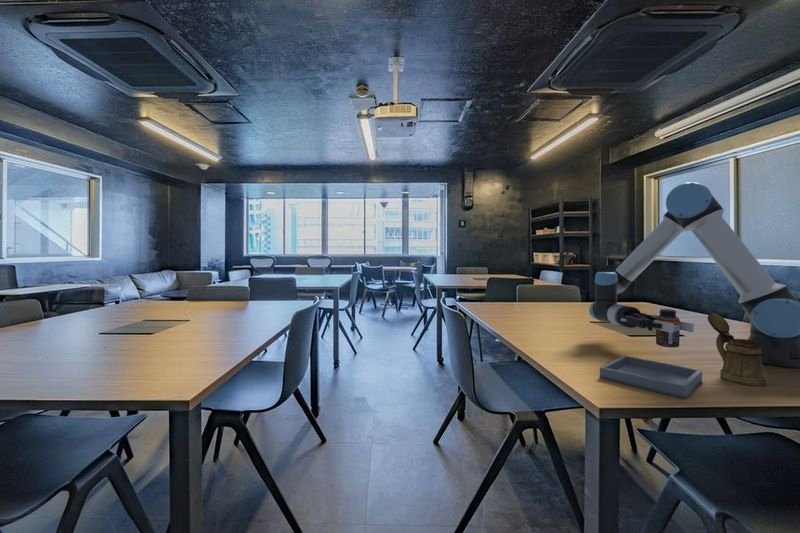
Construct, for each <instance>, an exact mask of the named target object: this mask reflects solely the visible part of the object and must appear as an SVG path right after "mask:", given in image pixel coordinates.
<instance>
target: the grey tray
mask: <svg viewBox="0 0 800 533" xmlns="http://www.w3.org/2000/svg"><path fill="white" fill-rule="evenodd" d="M599 379H601V380H606V381H610V382H615V383H619V384H623V385H626V386H631V387H634V388H638V389H642V390H646V391H650V392H655V393H659V394H662V395H667V396H671V397H674V398H679V399H683V400H686V399H687V398H688V397H689V396H690V394H692V393H693V391H694V390H695V389H697V387H699V385H700V384H701V383H702V382H703V369H702V370H701V369H697V368H691V367H685V366H681V365H675V364H670V363H666V362H660V361H654V360H650V359H644V358H641V357H640V358H638V357H634V356H630V355H622V356H621V357H619V358H617V359H614V360H612V361H610V362H608V363H607V364H604V365H602V366H600V367H599Z"/></svg>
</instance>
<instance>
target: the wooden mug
mask: <svg viewBox="0 0 800 533" xmlns="http://www.w3.org/2000/svg"><path fill="white" fill-rule="evenodd" d="M707 321H708V323H709V325H710V326H711V328H712V329H713V330H714V331H715V332H717V333H718V336H717V337H716V341H715V345H716V349H717V350H718V353H719V355H720V357H721V359H722V361H723V365H722V368H721V369H720V371H719V372H720V375H719V376H720V377H721V379H724V380H725V381H729V382H730V383H731V382H732V383H734V382H735V384H741V385H744V384H745V386H751V385H752V386H754V387H762V386H766V385H767V381H766V377H765V375H764V368H763V363H762V361H761V353H762V351H761V348H760V347H759V342H758V341H754V340H748V339H747V338H746V339H745V338H744V339H743V338H735V337H734V335H732V334H730V325H729V323H728V322H727V320H726V319H725V317H723V316H721V315H720V314H718V313H717V312H714V311H712V310H710V311H709V313H708V315H707ZM725 343H726V344H725ZM724 346H725V347H724Z"/></svg>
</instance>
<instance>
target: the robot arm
mask: <svg viewBox="0 0 800 533" xmlns="http://www.w3.org/2000/svg"><path fill="white" fill-rule="evenodd" d="M665 207H666V210H667V211H666V212H665V213H664V214H663V220H662V221H660V223H659V224H657V226H656V227H655V228H654V229H653V230H652V231H651V232H650V233H649V234H648V235H647V236H646V237H645V238H644V240H643V241H641V243H640V244H638V246H636V248H634V250H633V251H632V252H631V253H630V254H629V255H628V256H627V257H626V258H625V259H624V260H623V261H622V262H621V263H620V264H619V266H617V267H616V268H615V270H614V271H613V272H611V271H601V272H600V271H598V272H596V273H595V277H594V291H595V292H594V294H595V295H594V301H593V302H592V303H591V304H590V305H589V308H588V311H589V314H590V316H591V317H592V319H595V320H598V321H600V322H604V323H607V324H613V325H617V327H625V328H629V329H635V328H637V327H638V328H641V329H646V328H647V331H649V332H650V331H651V332H652V331H653V330H656V329H657V330H661V331H665V332H670V333H674V324H672V323H667V322H662V321H657V320H656V318H657V316H659V315H658V314H648V313H645V312H641V311H640V309H638V308H637V307H634V306H630V305H624V304H618V295H619V294H622V293H624V292H625V291H626V290H627V288H628V286H630V284H631V283H632V282H633V281H634V280H636V278H638V276H639V275H640V274H642V272H643V271H645V269H647V267H648V266H650V264H652V262H654V261H655V259H657V257H659V256H660V255H661V254H662V253H663V252H664V250H666V248H669V246H670V245H671V244H672V243H673V242H674V241H675V240H676V239H677V238H678V237H679V236H681V234H682V233H683V232H688V231H690V232H692V233H693V234H694V237H696V238H697V240H698V241H699V242H700V243H701V245H702V246H703V248H704V249H705V250H706V251H707V253H708V255H709V256H710V257H711V258H712V260H713V261H714V262H715V263H716V265H717V266H718V268H719V269H720V270H721V271H722V273H723V274H724V275H725V276H726V278H727V280H729V282H730V284H731V285H732V287H734V289H735V290H736V291H737V293H739V294H738V295H740V296H739V299H738V301H737V302H738V303H739V304H740V306H741V307H742V309H743V310H744V311H745V313H746V315H747V316H748V317H749V319H750V323H749V324H750V326H749V327H750V330H749V337H748V339H747V340H754V341H758V342H759V347H760V348H761V351H762V353H761V361H762V365H770V366H777V367H783V368H792V369H793V368H794V369H800V292H798V291H791V290H790V288H788V286H787V285H786V284H782V283H779V282H776V281H775V280H774V279H773V278H772V277H771V275H770V274H769V273H768V272H767V271H766V269H765V268H764V267H763V266H762V264H761V263H760V262H759V261H758V259H757V258H756V257H755V256H754V255H753V253H752V252H751V251H750V250H749V248H748V246H746V245H745V243H744V242H743V241H742V240H741V239H740V237H739V236H738V234H737V233H736V232H735V231H734V230H733V229H732V227H731V226H730V224H728V222H727V221H726V220H725V219H724V218H723V214H724V211H725V209H724V208H723V206H721V204H720V203H719V202H718V200H717V199H716V198H715V196H713V194H712V192H711V190H710V188H709V187H707V186H706V185H705V184H702V183H700V182H694V181H693V182H692V181H691V182H684V183H682V184H679V185H677V186H675V187H674V188H672V189H671V190H670V191H669V193H668V194H667V196H666V198H665ZM679 320H680V318H679ZM694 325H695V324H694V322H689V321H685V320H684V321H683V320H680V331H684V332H689V333H694V332H695V331H694V330H695V329H694Z"/></svg>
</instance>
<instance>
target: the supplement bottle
mask: <svg viewBox="0 0 800 533" xmlns="http://www.w3.org/2000/svg"><path fill="white" fill-rule="evenodd" d="M679 319H680V318H679V317H678V316H677V310H675V309H670V308H661V309H659V315H658V316H657V318H656V320H657V321H662V322H667V323H672V324H674V333H670V332H665V331H661V330H657V329H655V344H656V345H657V346H660V347H665V348H673V349H674V348H675V349H676V348H679V347H680V335H681V334H680V333H681V332H680V331H681V330H680V321H681V320H679Z"/></svg>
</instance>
